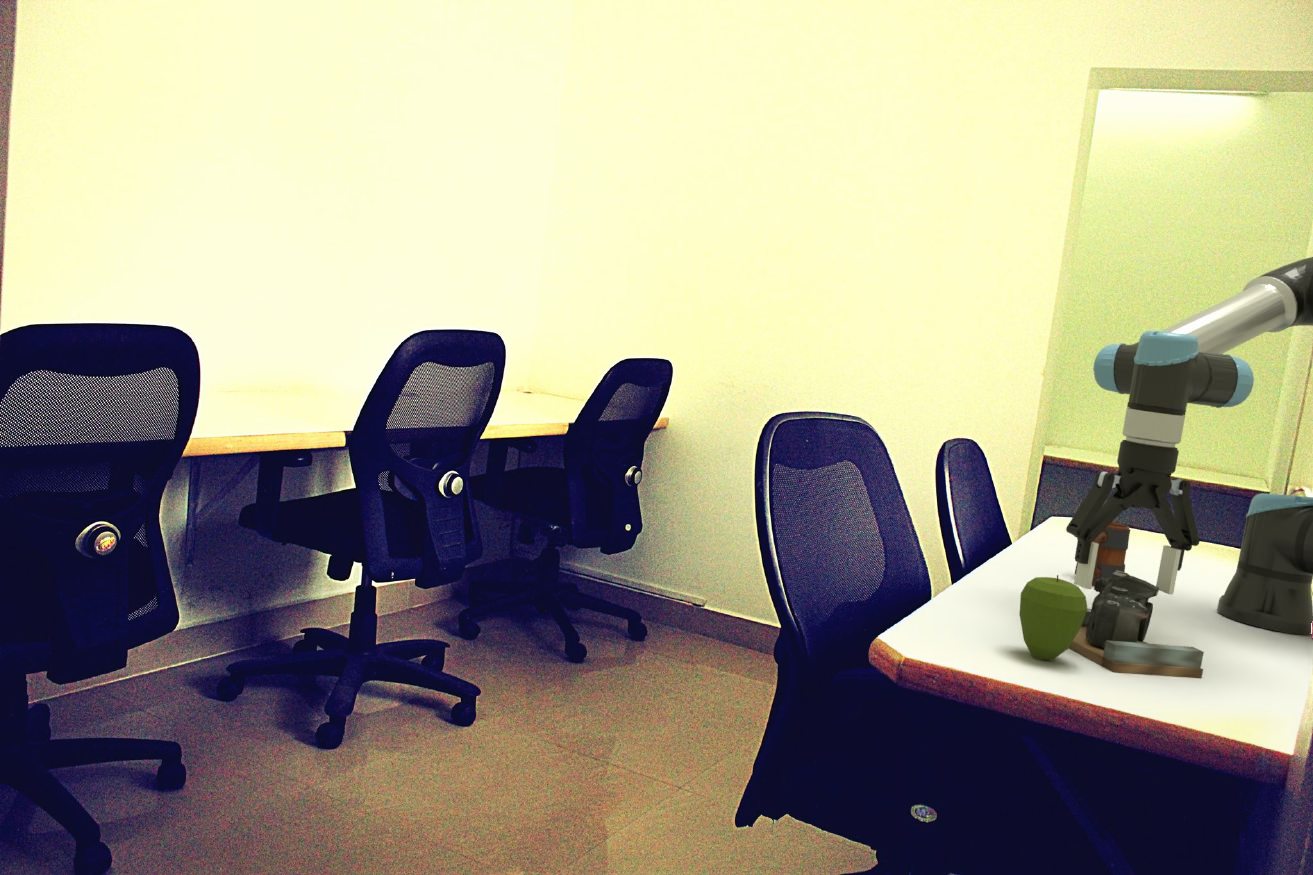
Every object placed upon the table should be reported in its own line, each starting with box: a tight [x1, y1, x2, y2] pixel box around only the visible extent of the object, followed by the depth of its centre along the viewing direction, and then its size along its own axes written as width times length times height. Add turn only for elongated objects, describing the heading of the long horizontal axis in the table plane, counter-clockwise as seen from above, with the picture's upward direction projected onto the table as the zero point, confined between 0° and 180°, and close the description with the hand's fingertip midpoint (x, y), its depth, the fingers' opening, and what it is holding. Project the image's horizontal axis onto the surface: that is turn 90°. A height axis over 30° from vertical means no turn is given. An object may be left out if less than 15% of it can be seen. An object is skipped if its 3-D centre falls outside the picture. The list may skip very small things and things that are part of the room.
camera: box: [1086, 570, 1160, 649], centre depth 151 cm, size 13×10×10 cm
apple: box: [1019, 574, 1089, 661], centre depth 141 cm, size 9×8×12 cm
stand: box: [1068, 607, 1205, 679], centre depth 151 cm, size 14×20×4 cm
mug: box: [1074, 521, 1131, 587], centre depth 201 cm, size 9×12×12 cm
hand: (1123, 589), depth 151 cm, fingers open, 13 cm apart
